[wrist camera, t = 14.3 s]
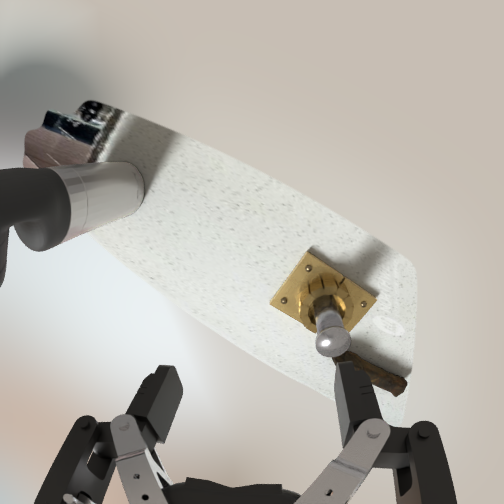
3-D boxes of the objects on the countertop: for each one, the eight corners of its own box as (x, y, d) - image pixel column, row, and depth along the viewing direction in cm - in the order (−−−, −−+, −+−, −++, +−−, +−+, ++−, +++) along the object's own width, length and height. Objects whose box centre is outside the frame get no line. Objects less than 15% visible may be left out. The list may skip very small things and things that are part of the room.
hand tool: (404, 374, 46) (411, 389, 41) (390, 387, 47) (396, 402, 42) (341, 335, 44) (345, 352, 40) (326, 351, 46) (328, 367, 41)
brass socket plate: (270, 301, 43) (268, 313, 40) (306, 250, 40) (308, 259, 37) (337, 340, 44) (340, 353, 41) (375, 297, 41) (382, 308, 37)
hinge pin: (311, 316, 42) (316, 358, 32) (309, 291, 41) (315, 330, 31) (338, 313, 42) (350, 354, 32) (338, 288, 40) (351, 326, 30)
